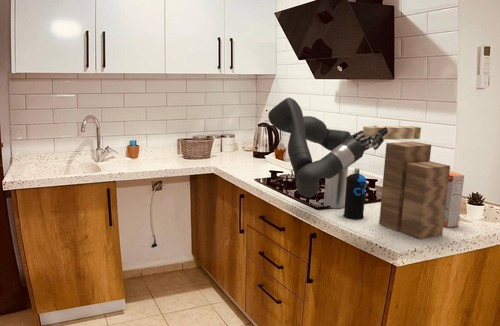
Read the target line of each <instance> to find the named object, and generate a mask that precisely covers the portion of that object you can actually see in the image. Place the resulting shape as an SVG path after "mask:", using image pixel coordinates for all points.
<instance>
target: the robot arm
mask: <svg viewBox="0 0 500 326" xmlns="http://www.w3.org/2000/svg"><path fill="white" fill-rule="evenodd" d="M267 117H268V121H269V123H270V124H271V125H272V126H273V127H274V128H275V129H276V130H279V131H281V132H284V133H289V134H290V135H289V139H288V143H287V154H288V158H289V161H290V165H291V167H292V170H293V176H294V181H295V185H296V189H297V191H298V193H299V194H300V195H301V196H302V197H305V198H312V197H314V196H315V195H316V194H318V192H319V188H320V180H321V179H322V178H324V179H325V183H324V194H323V195H324V196H323V207H327V206H330V207H331V209H342V208H344V207H345V194H346V181H347V180H346V178H347V177H348V171H349V170H348V169H349V167H351V166H352V165H353V164H354V163H356V162H357V161H359V160H360V159H361V158H362V157H363V156H364V153H365V152H366V151H367V150H370V149H373V150H374V151H377V150H378V149H379V148H380V147H381V145H382V144H383V143H384V142H385V140H384V139H383V136H384V135H386V134H387V133H388V130H387V127H384V128H382V129H381V130H380V131H378V132H377V133H375V134H374V135H369V136H367V137H365V136H364V133H363V130H360V131H357V132H355V133H353V134H351V132H349V131H348V130H347V131H346V130H341V129H340V130H338V129H330V128H327V125H326V124H325V122H324V121H322V120H321V119H319V118H317V117H314V116H310V115H304V114H303V110H302V108H301V106H300V104H299V103H298V102H297V101H296V100H295V99H294V98H292V97H287V98H285V99H283V100H282V101H280V102H279V103H278V104H276V105H274V107H273V108H271V110H269V112H268V114H267ZM376 136H377V137H376ZM374 137H376V138H374ZM370 138H371V139H372V140H371V139H370ZM308 141H309V142H312V143H314V144H319V145H320V146H321V147H323V148H325V149H326V150H328V151H330V152H329V153H328V154H327V153H326V155H325V156H323V157H322V158H320V159H318V160H315V161H313V158H312V155H311V152H310V149H309V147H308ZM330 207H329V208H330Z"/></svg>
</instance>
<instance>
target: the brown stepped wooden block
mask: <svg viewBox="0 0 500 326" xmlns="http://www.w3.org/2000/svg"><path fill="white" fill-rule="evenodd" d="M431 152H432V144H429V143H423V142H416V141H398V142H386V146H385V154H384V155H385V156H384V166H383V176H382V177H383V179H382V189H381V198H380V199H381V200H380V209H379V210H380V211H379V220H378V221H379V222H378V224H379V225H380V226H383V227H386V228H387V229H390V230H393V231H395V232H400V233H402V234H405V235H407V236H410V237H411V238H412V237H413V238H415V239H417V240H423V239H427V238H434V237H438V236H443V230H444V226H443V223H444V214H445V206H446V197H447V189H448V180H449V172H450V171H451V170H450V169H451V165H448V164H444V163H439V162H434V161H431Z"/></svg>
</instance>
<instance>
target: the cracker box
mask: <svg viewBox="0 0 500 326" xmlns="http://www.w3.org/2000/svg"><path fill="white" fill-rule="evenodd" d="M464 183H465V175H464V174H461V173H457V172H454V171H451V170H450V172H449V180H448V189H447V197H446V206H445V214H444V223H443V228H454V227H459V223H460V214H461V205H462V198H463V189H464Z"/></svg>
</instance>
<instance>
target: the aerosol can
mask: <svg viewBox="0 0 500 326" xmlns="http://www.w3.org/2000/svg"><path fill="white" fill-rule="evenodd" d="M360 170H361V169H360V168H358V167H356V168H354V171H353V173H351V174H349V175H347V178H346V180H347V181H346V194H345V207H343V208H344V209H343V217H344V218H346V219H348V220H362V219H364V217H365V216H364V210H365V200H366V199H365V198H366V188H367V187H366V185H367V181H368V180H367V178H366V177H365V176H364V175H363V174H361V173H360Z"/></svg>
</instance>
